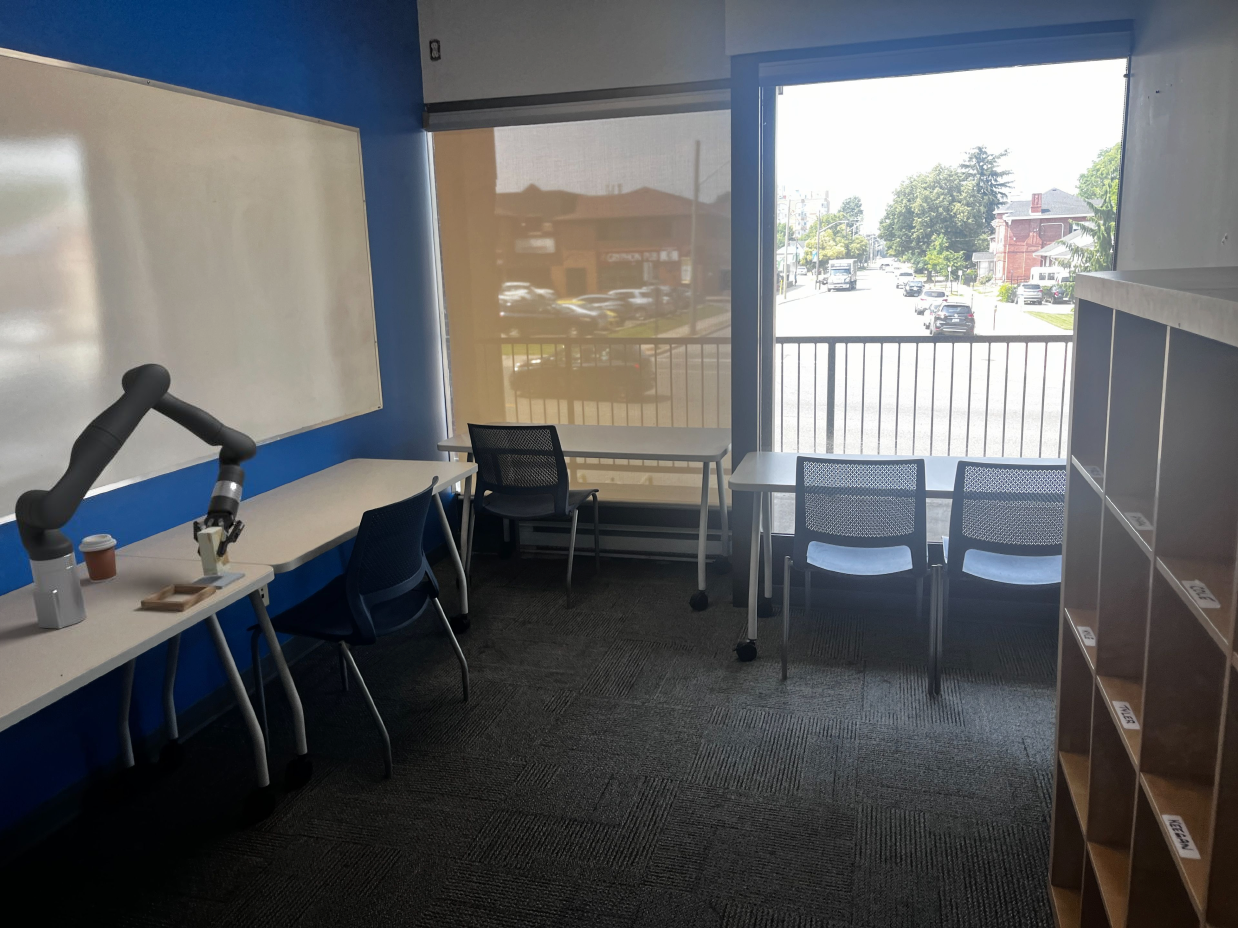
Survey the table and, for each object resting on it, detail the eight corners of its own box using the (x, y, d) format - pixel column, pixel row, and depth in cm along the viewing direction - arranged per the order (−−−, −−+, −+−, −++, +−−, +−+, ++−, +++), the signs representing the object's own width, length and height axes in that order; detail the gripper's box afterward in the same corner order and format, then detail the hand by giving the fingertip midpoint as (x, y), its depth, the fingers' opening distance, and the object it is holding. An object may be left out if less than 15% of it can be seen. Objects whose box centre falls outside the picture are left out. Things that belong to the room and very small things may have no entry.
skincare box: (218, 576, 238) (210, 533, 235) (203, 576, 239) (195, 533, 236) (231, 567, 244) (224, 525, 242) (216, 568, 245) (209, 526, 242)
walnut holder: (184, 610, 222) (183, 603, 221) (141, 608, 224) (140, 601, 224) (216, 592, 233) (215, 585, 233) (175, 590, 236) (174, 583, 236)
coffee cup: (85, 576, 250) (78, 536, 247) (122, 570, 254) (115, 530, 251) (84, 586, 242) (76, 545, 239) (122, 580, 246) (114, 539, 243)
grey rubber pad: (222, 588, 236) (221, 585, 236) (189, 587, 238) (189, 584, 238) (245, 575, 246) (244, 572, 246) (213, 574, 248) (213, 571, 248)
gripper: (194, 494, 245) (178, 550, 236) (244, 493, 244) (230, 549, 235) (206, 507, 251) (191, 562, 242) (255, 506, 250) (242, 561, 241)
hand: (210, 555), depth 239 cm, fingers closed on skincare box, 4 cm apart
